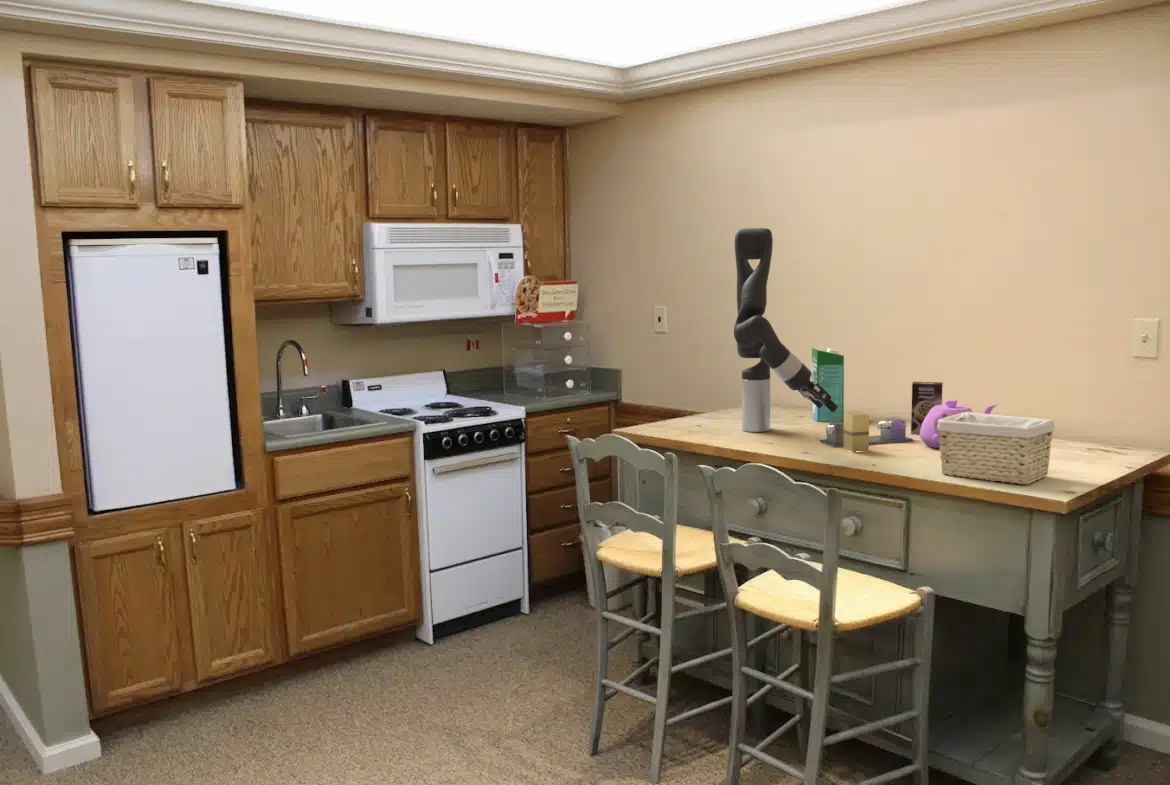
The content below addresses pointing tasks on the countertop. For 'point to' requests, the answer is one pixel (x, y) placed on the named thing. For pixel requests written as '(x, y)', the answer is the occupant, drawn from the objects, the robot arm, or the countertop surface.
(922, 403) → the coffee box
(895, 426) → the shaft bench
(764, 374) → the robot arm
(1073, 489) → the countertop surface
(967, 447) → the storage basket
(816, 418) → the milk carton
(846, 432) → the block
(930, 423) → the teapot
